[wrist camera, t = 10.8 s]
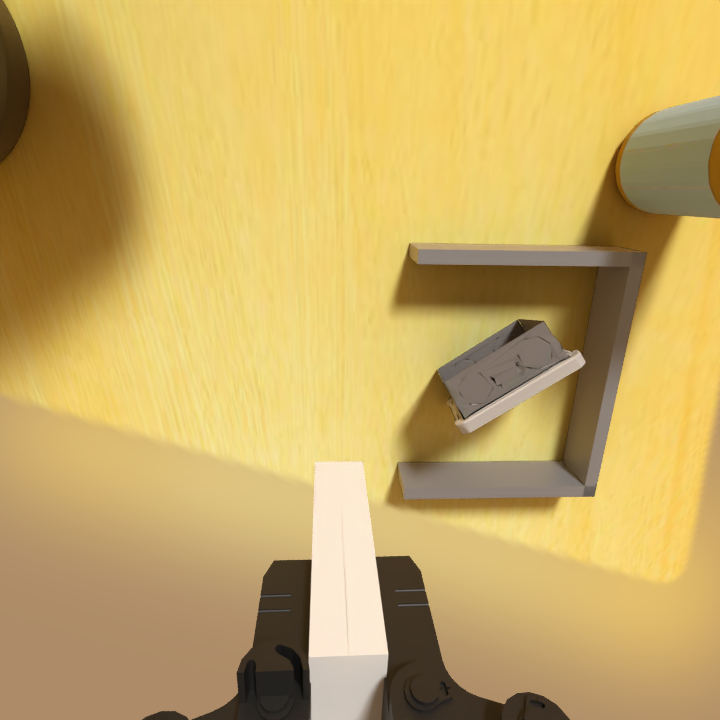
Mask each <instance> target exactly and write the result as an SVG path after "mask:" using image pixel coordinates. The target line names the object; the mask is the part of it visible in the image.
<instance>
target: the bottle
mask: <svg viewBox="0 0 720 720" xmlns="http://www.w3.org/2000/svg"><path fill="white" fill-rule="evenodd" d="M615 174H616V183H617V187H618V189H619V191H620V193H621V195H622V197H623V198H624V200H625V201H626V202H627V203H628V204H630V205H631V206H632V207H633V208H635V209H638V210H640V211H643V212H647V213H654V214H667V215H681V216H694V217H708V218H720V96H716V97H712V98H708V99H703V100H699V101H695V102H691V103H687V104H683V105H679V106H675V107H671V108H668V109H664V110H661V111H658V112H655V113H653V114H651V115H649V116H647V117H646V118H644V119H643V120H642V121H640V122H639V123H638V124H637V125H636V126H635V127H634V128H633V129H632V130H631V131H630V133H629V134H628V135H627V137H626V138H625V140H624V142H623V144H622V146H621V148H620V150H619V153H618V156H617V162H616V167H615Z"/></svg>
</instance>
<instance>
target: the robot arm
mask: <svg viewBox="0 0 720 720" xmlns="http://www.w3.org/2000/svg"><path fill="white" fill-rule="evenodd" d="M29 95H30V81H29V71H28V64H27V59H26V55H25V51H24V47H23V43H22V40H21V38H20V35H19V32H18V30H17V27H16V25H15V22H14V20H13V18H12V16H11V14H10V12H9V10H8V8H7V7H6V5H5V3H4V1H3V0H0V162H1V161H2V160H3V159H4V158H5V157H6V156H7V155H8V154H9V153H10V151H11V150H12V149H13V147H14V145H15V144H16V142H17V140H18V138H19V136H20V134H21V132H22V129H23V127H24V124H25V120H26V117H27V112H28V106H29ZM237 681H238V694H237V695H236V696H235V697H234V698H233V699H232V700H231V701H230V702H228V703H227V704H226V705H224V706H223V707H221V708H219V709H217V710H215V711H213V712H211V713H208V714H205V715H203V716H200V717H198V718H195V719H192V720H570V719H569V718H568V717H567V716H566V715H565V713H564V712H563V711H562V710H561V709H560V708H559V707H558V706H557V705H556V704H555V703H553V702H551V701H550V700H549V699H547V698H545V697H544V696H541V695H538V694H534V693H530V692H526V693H517V694H515V695H514V696H512V697H510V698H509V699H507V701H506V703H505V704H501V703H497V702H494V701H491V700H488V699H484V698H481V697H478V696H476V695H473V694H471V693H469V692H467V691H466V690H464V689H463V688H461V687H460V686H459V685H458V684H457V683H456V682H454V680H453V679H452V678H451V677H450V675H449V674H448V672H447V670H446V669H445V666H444V663H443V661H442V657H441V653H440V649H439V645H438V640H437V636H436V632H435V628H434V624H433V620H432V616H431V612H430V608H429V605H428V599H427V595H426V592H425V587H424V583H423V579H422V574H421V571H420V569H419V568H418V567H417V566H416V564H415V563H414V562H413V560H412V559H411V558H410V556H390V557H375V551H374V543H373V536H372V528H371V520H370V513H369V505H368V498H367V490H366V483H365V475H364V468H363V461H359V462H315V483H314V513H313V542H312V560H282V561H281V560H280V561H273V563H272V564H271V566H270V568H269V569H268V571H267V572H266V574H265V575H264V577H263V583H262V590H261V598H260V603H259V610H258V616H257V622H256V629H255V635H254V642H253V648H251V649H250V651H249V652H248V653H247V654H246V655H245V656H244V658H243V659H242V660H241V663H240V665H239V668H238V671H237ZM143 720H188V718H187V717H186V716H183V715H181V714H179V713H177V712H176V711H161V712H158V713H156V714H153V715H150V716H147V717H145V718H144V719H143Z"/></svg>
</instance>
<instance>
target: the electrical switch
mask: <svg viewBox="0 0 720 720" xmlns="http://www.w3.org/2000/svg"><path fill="white" fill-rule="evenodd" d="M518 320H519V321H520V323H521V324H520V323H519V321H518ZM518 320H517V321H515V322H513V323H512V324H510V325H508V326H507V327H505V328H504V329H502V330H500V331H499V332H497V333H495V334H494V335H492V336H491V337H489V338H487V339H486V340H484V341H483V342H481V343H479V344H478V345H476V346H474V347H473V348H471V349H470V350H468V351H466V352H465V353H463V354H462V355H460V356H458V357H457V358H455V359H453V360H452V361H450V362H449V363H447V364H445V365H444V366H442V367H441V368H439V369H437V370H439V371H438V372H439V374H440V373H441V374H440V377H441V379H442V381H443V383H444V385H445V387H446V389H447V391H448V392H449V394H450V396H451V398H450V399H449V400H448V401H447V405H448V406H449V407H450V408H451V410H452V413H453V415H454V417H455V420H456V421H454V423H455V425H456V426H457V428H458V429H459V430H460V432H461V433H462V434H463V435H464V434H468V433H471V432H473V431H474V430H476V429H478V428H479V427H481V426H483V425H484V424H486V423H488V422H490V421H491V420H493V419H495V418H496V417H498V416H500V415H502V414H503V413H505V412H507V411H508V410H510V409H512V408H513V407H515V406H517V405H519V404H520V403H522V402H524V401H525V400H527V399H529V398H530V397H532V396H534V395H536V394H537V393H539V392H541V391H542V390H544V389H546V388H548V387H549V386H551V385H553V384H554V383H556V382H558V381H559V380H561V379H563V378H565V377H566V376H568V375H570V374H571V373H573V372H575V371H576V370H578V369H580V368H582V366H583V365H584V364H585V360H584V358H583V356H582V354H581V353H580V352H579V351H578V350H574V351H573V352H571V351H568V350H565V349H563V348H562V346H561V344H560V342H559V341H558V340H557V339H556V338H555V337H554V336H553V335H552V333H551V332H550V330H549V328H548V327H547V325H546V324H545V322H544V321H537V320H524V319H518ZM521 325H522V326H523V327H522V326H521ZM523 328H524V329H523ZM514 336H515V337H514ZM498 337H499V338H498ZM496 338H497V339H496ZM465 359H469V360H465ZM474 361H475V362H476V363H475V362H474ZM456 363H457V365H456Z"/></svg>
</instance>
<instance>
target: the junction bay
mask: <svg viewBox="0 0 720 720" xmlns="http://www.w3.org/2000/svg"><path fill="white" fill-rule="evenodd" d="M646 255H647V252H642V251H637V250H632V249H627V248H622V247H617V246H571V245H505V244H438V243H410V247H409V257H410V258H411V259H412V260H414V261H415V262H416V263H417V264H447V265H527V266H599V268H598V273H597V278H596V284H595V289H594V295H593V300H592V306H591V311H590V316H589V322H588V327H587V333H586V338H585V343H584V349H583V354H582V356H583V358H584V360H585V364H584V365H583V366H582V368H580V371H579V376H578V381H577V387H576V392H575V398H574V403H573V408H572V414H571V419H570V425H569V430H568V436H567V441H566V446H565V452H564V457H563V461H488V462H398V477H399V481H400V485H401V490H402V494H403V498H404V499H465V498H530V497H594V496H595V491H596V486H597V482H598V477H599V472H600V468H601V463H602V458H603V454H604V449H605V445H606V440H607V435H608V431H609V426H610V421H611V417H612V412H613V408H614V403H615V398H616V394H617V389H618V384H619V380H620V375H621V370H622V366H623V361H624V357H625V352H626V347H627V343H628V338H629V333H630V329H631V324H632V319H633V315H634V310H635V306H636V301H637V296H638V292H639V287H640V282H641V278H642V273H643V269H644V264H645V259H646Z"/></svg>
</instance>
